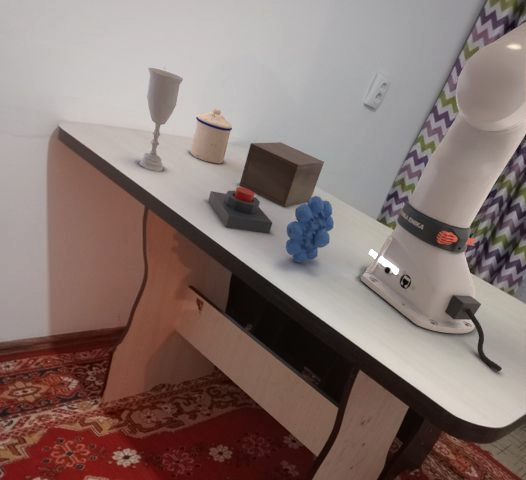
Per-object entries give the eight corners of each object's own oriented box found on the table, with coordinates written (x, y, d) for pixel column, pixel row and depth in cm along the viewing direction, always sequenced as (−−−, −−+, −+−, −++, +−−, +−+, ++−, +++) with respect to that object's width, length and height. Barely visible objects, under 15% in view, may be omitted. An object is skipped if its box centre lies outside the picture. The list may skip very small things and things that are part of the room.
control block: (269, 233, 88) (275, 213, 86) (225, 227, 84) (231, 206, 82) (248, 208, 96) (254, 189, 94) (208, 201, 92) (212, 181, 90)
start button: (254, 204, 88) (257, 195, 87) (237, 201, 86) (239, 192, 85) (248, 197, 90) (250, 188, 89) (231, 194, 89) (233, 185, 88)
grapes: (295, 279, 75) (321, 208, 68) (266, 259, 78) (289, 189, 71) (335, 270, 83) (362, 206, 76) (307, 252, 86) (331, 190, 79)
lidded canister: (230, 166, 119) (242, 118, 113) (199, 162, 114) (210, 111, 107) (207, 149, 126) (217, 104, 120) (178, 145, 121) (187, 96, 114)
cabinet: (269, 180, 119) (280, 142, 114) (310, 200, 116) (324, 161, 111) (239, 185, 108) (250, 143, 103) (284, 207, 104) (298, 164, 99)
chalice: (163, 175, 97) (179, 81, 87) (131, 165, 96) (144, 68, 86) (170, 167, 103) (186, 78, 93) (139, 157, 102) (152, 66, 92)
